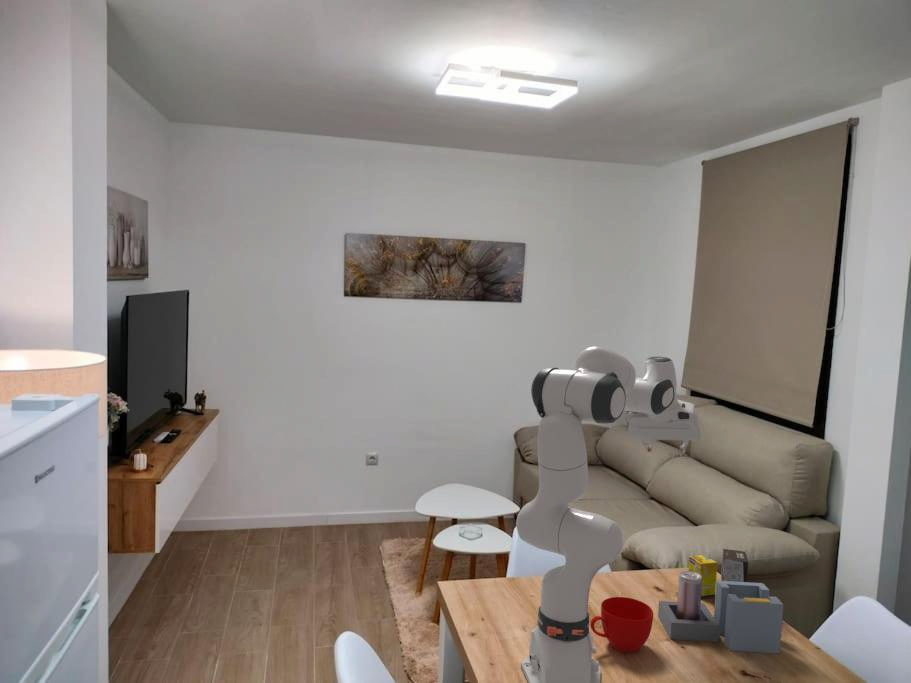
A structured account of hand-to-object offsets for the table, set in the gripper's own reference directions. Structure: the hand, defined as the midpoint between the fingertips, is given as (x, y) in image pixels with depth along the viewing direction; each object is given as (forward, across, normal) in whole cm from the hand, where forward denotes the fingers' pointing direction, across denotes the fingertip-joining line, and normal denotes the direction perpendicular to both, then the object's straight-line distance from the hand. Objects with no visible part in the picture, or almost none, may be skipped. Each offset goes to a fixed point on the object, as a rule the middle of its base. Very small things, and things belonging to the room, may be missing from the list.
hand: (665, 451), depth 196 cm
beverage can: (+38, +5, -29) cm, 48 cm away
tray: (+38, +5, -29) cm, 48 cm away
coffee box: (+45, +16, -11) cm, 49 cm away
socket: (+40, +19, -28) cm, 53 cm away
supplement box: (+47, +7, -5) cm, 47 cm away
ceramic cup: (+31, -11, -46) cm, 56 cm away
